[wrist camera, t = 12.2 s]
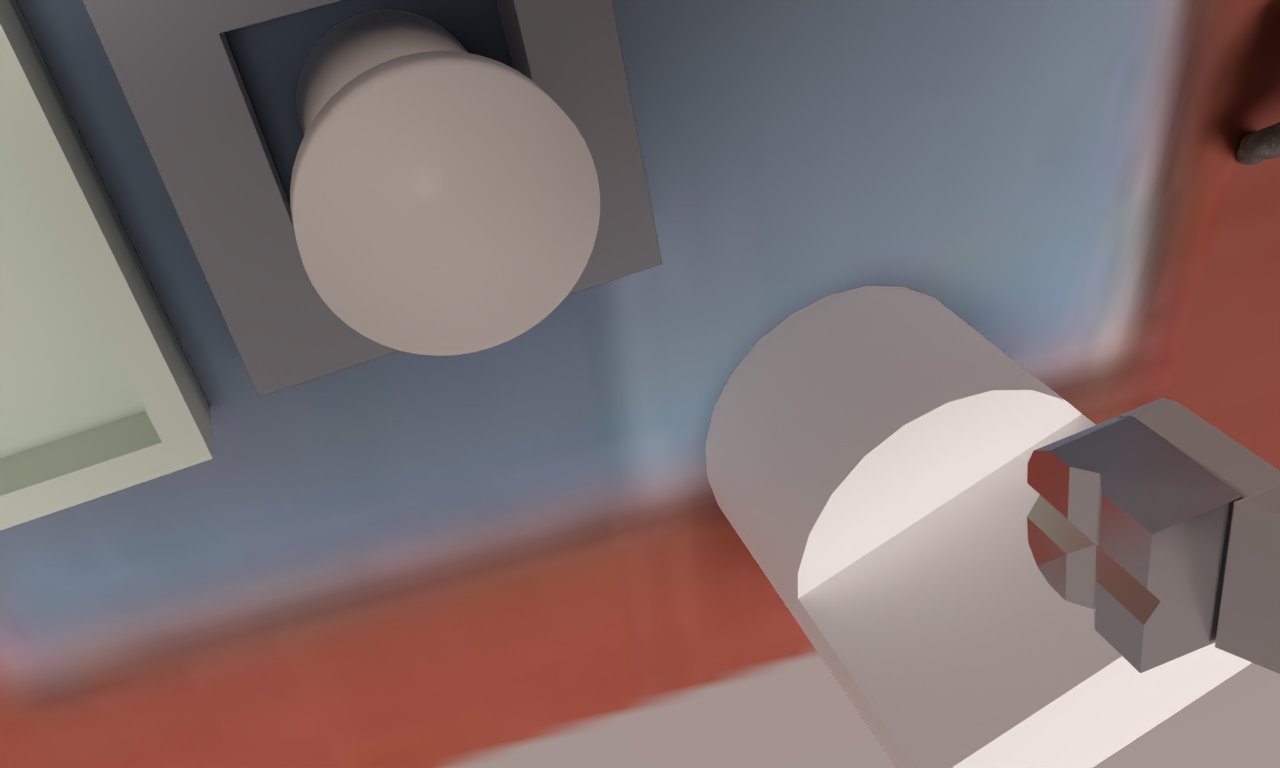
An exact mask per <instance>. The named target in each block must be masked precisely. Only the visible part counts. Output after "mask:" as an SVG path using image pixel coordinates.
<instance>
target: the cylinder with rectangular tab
mask: <svg viewBox="0 0 1280 768" xmlns="http://www.w3.org/2000/svg"><path fill="white" fill-rule="evenodd" d="M1093 426H1095V424H1094V423H1093V422H1092V421H1090V420H1089V419H1088V418H1086V417H1085V416H1084V415H1083V414H1081V413H1080V412H1079V411H1078V410H1076V409H1075V408H1074V407H1073V406H1072V405H1070V404H1069V403H1068V402H1067V401H1065V400H1064V399H1063V398H1062V397H1060V396H1059V395H1058V394H1057V393H1055V392H1054V391H1053V390H1051V389H1050V388H1049V387H1048V386H1046V385H1045V384H1044V383H1042V382H1041V381H1040V380H1039V379H1037V378H1036V377H1035V376H1034V375H1032V374H1031V373H1030V372H1028V371H1027V370H1026V369H1025V368H1023V367H1022V366H1021V365H1020V364H1018V363H1017V362H1016V361H1014V360H1013V359H1012V358H1011V357H1009V356H1008V355H1007V354H1005V353H1004V352H1003V351H1002V350H1000V349H999V348H998V347H997V346H995V345H994V344H993V343H991V342H990V341H989V340H988V339H986V338H985V337H984V336H983V335H981V334H980V333H979V332H977V331H976V330H975V329H974V328H972V327H971V326H970V325H968V324H967V323H966V322H965V321H963V320H962V319H961V318H960V317H958V316H957V315H956V314H954V313H953V312H952V311H951V310H949V309H948V308H947V307H945V306H944V305H943V304H942V303H940V302H939V301H938V300H937V299H935V298H934V297H931V296H929V295H926V294H923V293H920V292H917V291H914V290H911V289H908V288H905V287H895V286H865V287H860V288H856V289H852V290H848V291H844V292H840V293H835V294H831V295H828V296H826V297H824V298H822V299H820V300H818V301H816V302H814V303H812V304H810V305H808V306H806V307H804V308H802V309H800V310H798V311H796V312H794V313H792V314H791V315H790V316H789V317H787V318H786V319H785V320H784V321H782V322H781V323H780V324H779V325H777V326H776V327H775V328H774V329H772V330H771V331H770V332H769V333H767V334H766V335H765V336H764V337H762V338H761V339H760V340H759V341H758V342H757V343H756V344H755V345H754V347H753V348H752V349H751V350H750V352H749V353H748V354H747V355H746V356H745V358H744V359H743V360H742V361H741V363H740V364H739V365H738V366H737V367H736V369H735V370H734V371H733V372H732V374H731V376H730V378H729V380H728V381H727V383H726V385H725V387H724V389H723V391H722V393H721V395H720V397H719V399H718V401H717V403H716V405H715V407H714V409H713V414H712V418H711V422H710V427H709V431H708V435H707V440H706V444H705V447H706V465H707V478H708V481H709V483H710V486H711V488H712V491H713V493H714V496H715V498H716V501H717V503H718V506H719V507H720V509H721V510H722V512H723V513H724V515H725V516H726V518H727V519H728V521H729V522H730V524H731V525H732V526H733V528H734V529H735V531H736V532H737V534H738V535H739V537H740V538H741V540H742V541H743V543H744V544H745V546H746V547H747V549H748V550H749V552H750V553H751V555H752V556H753V557H754V559H755V560H756V562H757V563H758V565H759V566H760V568H761V569H762V571H763V572H764V574H765V575H766V577H767V578H768V580H769V581H770V583H771V584H772V585H773V587H774V588H775V590H776V591H777V593H778V594H779V596H780V597H781V599H782V600H783V602H784V603H785V605H786V606H787V608H788V609H789V611H790V612H791V614H792V615H793V616H794V618H795V619H796V621H797V622H798V624H799V625H800V627H801V628H802V630H803V631H804V633H805V634H806V636H807V637H808V639H809V640H810V642H811V643H812V644H813V646H814V647H815V649H816V650H817V652H818V653H819V655H820V656H821V658H822V659H823V661H824V662H825V664H826V665H827V666H828V668H829V670H830V671H831V672H832V674H833V675H834V677H835V678H836V680H837V681H838V683H839V684H840V686H841V687H842V689H843V690H844V692H845V693H846V695H847V696H848V697H849V699H850V701H851V702H852V703H853V705H854V706H855V708H856V709H857V711H858V712H859V714H860V715H861V717H862V718H863V720H864V721H865V722H866V724H867V725H868V727H869V729H870V730H871V731H872V733H873V734H874V736H875V737H876V739H877V740H878V742H879V743H880V745H881V746H882V747H883V749H884V751H885V752H886V754H887V755H888V757H889V758H890V759H891V761H892V763H893V764H894V765H895V767H896V768H1092V767H1094V766H1096V765H1097V764H1098V763H1100V762H1102V761H1103V760H1105V759H1106V758H1108V757H1109V756H1111V755H1112V754H1114V753H1115V752H1117V751H1118V750H1120V749H1121V748H1123V747H1124V746H1126V745H1128V744H1129V743H1131V742H1132V741H1134V740H1135V739H1137V738H1138V737H1140V736H1141V735H1143V734H1144V733H1146V732H1147V731H1149V730H1150V729H1152V728H1153V727H1155V726H1156V725H1158V724H1159V723H1161V722H1162V721H1164V720H1166V719H1167V718H1169V717H1170V716H1172V715H1173V714H1175V713H1176V712H1178V711H1179V710H1181V709H1182V708H1184V707H1185V706H1187V705H1188V704H1190V703H1191V702H1193V701H1194V700H1196V699H1197V698H1199V697H1201V696H1202V695H1204V694H1205V693H1206V692H1208V691H1210V690H1211V689H1212V688H1214V687H1216V686H1217V685H1219V684H1220V683H1222V682H1223V681H1225V680H1226V679H1228V678H1229V677H1231V676H1232V675H1234V674H1235V673H1237V672H1238V671H1240V670H1242V669H1243V668H1244V667H1246V666H1248V665H1249V664H1251V663H1252V662H1250V661H1247V660H1245V659H1242V658H1240V657H1238V656H1235V655H1233V654H1230V653H1228V652H1225V651H1223V650H1220V649H1218V648H1216V647H1215V643H1213V644H1210V645H1208V646H1205V647H1203V648H1201V649H1198V650H1196V651H1193V652H1191V653H1189V654H1186V655H1184V656H1181V657H1179V658H1176V659H1174V660H1172V661H1169V662H1167V663H1164V664H1162V665H1160V666H1157V667H1155V668H1152V669H1150V670H1147V671H1145V672H1143V673H1139V672H1138V671H1137V670H1136V669H1135V668H1134V667H1133V666H1132V665H1131V664H1130V663H1129V662H1128V661H1127V660H1126V659H1125V658H1124V657H1123V656H1122V655H1121V654H1120V653H1119V652H1118V651H1117V650H1116V649H1115V648H1113V647H1112V646H1111V645H1110V644H1109V643H1108V642H1107V641H1106V640H1105V639H1104V638H1103V637H1102V636H1101V635H1100V634H1099V633H1098V632H1097V631H1096V630H1095V626H1094V612H1093V609H1091V608H1087V607H1084V606H1081V605H1078V604H1075V603H1071V602H1068V601H1065V600H1064V599H1063V598H1062V597H1061V596H1060V595H1059V594H1058V593H1057V592H1056V591H1055V590H1054V589H1053V588H1052V587H1051V586H1050V585H1049V583H1048V582H1047V580H1046V579H1045V577H1044V576H1043V574H1042V573H1041V571H1040V570H1039V568H1038V567H1037V564H1036V562H1035V559H1034V556H1033V554H1032V551H1031V549H1030V546H1029V543H1028V529H1027V516H1028V514H1029V512H1030V511H1031V509H1032V507H1033V506H1034V504H1035V502H1036V501H1037V499H1038V497H1039V495H1040V494H1039V493H1038V492H1037V491H1036V490H1034V489H1033V488H1032V487H1031V486H1030V485H1029V484H1028V483H1027V469H1028V461H1029V459H1030V457H1031V455H1032V453H1033V451H1034V450H1036V449H1039V448H1041V447H1044V446H1046V445H1049V444H1051V443H1053V442H1056V441H1058V440H1061V439H1063V438H1066V437H1068V436H1071V435H1073V434H1076V433H1078V432H1080V431H1083V430H1085V429H1088V428H1090V427H1093Z"/></svg>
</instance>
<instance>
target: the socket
mask: <svg viewBox="0 0 1280 768" xmlns="http://www.w3.org/2000/svg"><path fill="white" fill-rule="evenodd" d="M337 1H341V0H83V2H84V5H85V7H86V9H87V11H88V14H89V16H90V18H91V20H92V23H93V25H94V27H95V29H96V32H97V34H98V36H99V38H100V41H101V43H102V45H103V47H104V50H105V52H106V54H107V56H108V59H109V61H110V63H111V65H112V68H113V70H114V72H115V74H116V77H117V79H118V81H119V83H120V86H121V88H122V90H123V92H124V95H125V97H126V99H127V101H128V104H129V106H130V108H131V110H132V113H133V115H134V117H135V119H136V122H137V124H138V126H139V128H140V131H141V133H142V135H143V138H144V140H145V142H146V144H147V147H148V149H149V151H150V153H151V156H152V158H153V160H154V162H155V165H156V167H157V169H158V171H159V174H160V176H161V178H162V180H163V183H164V185H165V187H166V189H167V192H168V194H169V196H170V198H171V201H172V203H173V205H174V207H175V210H176V212H177V214H178V216H179V219H180V221H181V223H182V225H183V228H184V230H185V232H186V234H187V237H188V239H189V241H190V243H191V246H192V248H193V250H194V252H195V255H196V257H197V259H198V261H199V264H200V266H201V268H202V270H203V273H204V275H205V277H206V279H207V282H208V284H209V286H210V288H211V291H212V293H213V295H214V298H215V300H216V302H217V304H218V307H219V309H220V311H221V313H222V316H223V318H224V320H225V322H226V325H227V327H228V329H229V331H230V334H231V336H232V338H233V340H234V343H235V345H236V347H237V349H238V352H239V354H240V356H241V358H242V361H243V363H244V365H245V367H246V370H247V372H248V374H249V376H250V379H251V381H252V383H253V385H254V388H255V390H256V392H257V394H258V397H261V396H264V395H267V394H270V393H273V392H276V391H279V390H282V389H285V388H288V387H291V386H294V385H297V384H300V383H303V382H306V381H309V380H312V379H315V378H318V377H321V376H324V375H327V374H330V373H333V372H336V371H339V370H342V369H345V368H348V367H351V366H354V365H357V364H361V363H364V362H367V361H370V360H373V359H376V358H379V357H382V356H385V355H388V354H391V353H394V352H397V351H399V350H396V349H393V348H390V347H387V346H384V345H381V344H379V343H377V342H375V341H373V340H371V339H369V338H367V337H365V336H363V335H362V334H360V333H359V332H357V331H356V330H354V329H352V328H351V327H349V326H348V325H347V324H346V323H345V322H344V321H342V320H341V319H340V318H339V317H338V316H337V315H335V314H334V312H333V311H332V310H331V309H330V308H329V307H328V306H327V305H326V303H325V302H324V301H323V300H322V298H321V297H320V295H319V294H318V292H317V291H316V289H315V288H314V286H313V285H312V283H311V281H310V279H309V277H308V275H307V272H306V270H305V268H304V266H303V262H302V259H301V256H300V252H299V249H298V245H297V241H296V236H295V232H294V227H293V222H292V215H291V209H290V204H289V201H288V199H287V196H286V194H285V191H284V188H283V186H282V183H281V180H280V178H279V175H278V173H277V170H276V167H275V165H274V162H273V159H272V157H271V154H270V152H269V149H268V146H267V144H266V141H265V139H264V136H263V133H262V131H261V128H260V125H259V123H258V120H257V118H256V115H255V112H254V110H253V107H252V104H251V102H250V99H249V97H248V94H247V91H246V89H245V86H244V84H243V81H242V78H241V76H240V73H239V70H238V68H237V65H236V63H235V60H234V57H233V55H232V52H231V49H230V47H229V44H228V42H227V39H226V36H225V34H224V32H227V31H230V30H234V29H238V28H241V27H245V26H249V25H252V24H256V23H260V22H263V21H267V20H271V19H275V18H278V17H282V16H286V15H289V14H293V13H297V12H300V11H304V10H308V9H312V8H315V7H319V6H323V5H326V4H330V3H334V2H337ZM496 2H497V6H498V10H499V14H500V18H501V22H502V26H503V30H504V35H505V39H506V43H507V47H508V51H509V55H510V59H511V63H512V67H513V69H515V70H517V71H519V72H520V73H522V74H523V75H525V76H526V77H528V78H529V79H531V80H532V81H533V82H535V83H536V84H537V85H538V86H539V87H540V88H541V89H542V90H543V91H545V92H546V93H547V94H548V95H549V96H550V97H551V98H552V100H553V101H554V102H555V103H556V104H557V105H558V106H559V107H560V108H561V109H562V110H563V111H564V112H565V114H566V115H567V116H568V117H569V118H570V120H571V121H572V122H573V123H574V124H575V126H576V127H577V129H578V131H579V132H580V134H581V135H582V137H583V139H584V140H585V142H586V144H587V147H588V149H589V151H590V154H591V156H592V158H593V162H594V165H595V169H596V172H597V176H598V183H599V190H600V218H599V226H598V232H597V236H596V239H595V243H594V247H593V250H592V252H591V255H590V257H589V260H588V262H587V265H586V267H585V268H584V270H583V272H582V274H581V276H580V278H579V279H578V281H577V282H576V284H575V285H574V287H573V288H572V290H571V291H570V292H569V294H572V293H575V292H578V291H581V290H584V289H587V288H590V287H594V286H597V285H600V284H603V283H606V282H609V281H612V280H615V279H618V278H621V277H624V276H627V275H630V274H633V273H636V272H639V271H642V270H645V269H648V268H651V267H654V266H657V265H660V264H662V262H661V256H660V251H659V246H658V240H657V235H656V230H655V225H654V219H653V214H652V209H651V204H650V198H649V193H648V188H647V182H646V177H645V172H644V167H643V161H642V156H641V151H640V145H639V140H638V135H637V130H636V124H635V119H634V114H633V109H632V103H631V98H630V93H629V87H628V82H627V77H626V72H625V66H624V61H623V56H622V50H621V45H620V40H619V35H618V29H617V24H616V19H615V14H614V8H613V3H612V0H496ZM569 294H568V295H569Z"/></svg>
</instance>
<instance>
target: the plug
mask: <svg viewBox="0 0 1280 768" xmlns="http://www.w3.org/2000/svg"><path fill="white" fill-rule="evenodd" d="M296 105H297V112H298V118H299V122H300V125H301V129H302V132H303V135H304V138H303V140H302V142H301V144H300V147H299V149H298V152H297V155H296V159H295V162H294V166H293V170H292V177H291V185H290V209H291V215H292V222H293V227H294V232H295V236H296V241H297V245H298V249H299V252H300V256H301V259H302V262H303V266H304V268H305V270H306V272H307V275H308V277H309V279H310V281H311V283H312V285H313V286H314V288H315V289H316V291H317V292H318V294H319V295H320V297H321V298H322V300H323V301H324V302H325V303H326V305H327V306H328V307H329V308H330V309H331V310H332V311H333V312H334V314H335V315H337V316H338V317H339V318H340V319H341V320H342V321H344V322H345V323H346V324H347V325H348V326H349V327H351V328H352V329H354V330H356V331H357V332H359V333H360V334H362V335H363V336H365V337H367V338H369V339H371V340H373V341H375V342H377V343H379V344H381V345H384V346H387V347H390V348H393V349H396V350H399V351H404V352H409V353H413V354H419V355H432V356H448V355H460V354H467V353H473V352H477V351H481V350H484V349H488V348H492V347H494V346H497V345H499V344H502V343H504V342H507V341H509V340H511V339H513V338H515V337H517V336H519V335H521V334H522V333H524V332H526V331H528V330H529V329H530V328H532V327H533V326H535V325H536V324H538V323H539V322H541V321H542V320H543V319H544V318H545V317H546V316H548V315H549V314H550V313H551V312H552V311H553V310H554V309H555V308H556V307H557V306H558V305H559V304H560V303H561V302H562V301H563V300H564V298H565V297H566V296H567V295H568V294H569V292H570V291H571V290H572V288H573V287H574V285H575V284H576V282H577V281H578V279H579V278H580V276H581V274H582V272H583V270H584V268H585V267H586V265H587V262H588V260H589V257H590V255H591V252H592V250H593V247H594V243H595V239H596V236H597V232H598V226H599V218H600V190H599V183H598V176H597V172H596V169H595V165H594V162H593V158H592V156H591V154H590V151H589V149H588V147H587V144H586V142H585V140H584V139H583V137H582V135H581V134H580V132H579V131H578V129H577V127H576V126H575V124H574V123H573V122H572V121H571V120H570V118H569V117H568V116H567V115H566V114H565V112H564V111H563V110H562V109H561V108H560V107H559V106H558V105H557V104H556V103H555V102H554V101H553V100H552V98H551V97H550V96H549V95H548V94H547V93H546V92H545V91H543V90H542V89H541V88H540V87H539V86H538V85H537V84H536V83H535V82H533V81H532V80H531V79H529V78H528V77H526V76H525V75H523V74H522V73H520V72H519V71H517V70H515V69H513V68H511V67H509V66H507V65H505V64H503V63H501V62H499V61H496V60H493V59H490V58H487V57H484V56H481V55H476V54H471V53H468V52H467V50H466V49H465V48H464V47H463V46H462V45H461V43H460V42H459V41H458V40H457V39H456V38H455V37H454V36H453V35H452V34H451V33H450V32H449V31H448V30H447V29H445V28H444V27H442V26H441V25H439V24H438V23H436V22H435V21H433V20H431V19H429V18H427V17H425V16H422V15H419V14H416V13H413V12H408V11H403V10H395V9H381V10H372V11H367V12H363V13H360V14H357V15H354V16H351V17H349V18H347V19H345V20H343V21H341V22H340V23H338V24H337V25H335V26H334V27H332V28H331V29H330V30H328V31H327V32H326V33H325V34H324V35H323V36H322V37H321V38H320V39H319V40H318V41H317V43H316V44H315V45H314V46H313V48H312V49H311V51H310V53H309V54H308V56H307V57H306V60H305V62H304V64H303V66H302V69H301V72H300V76H299V79H298V85H297V92H296Z"/></svg>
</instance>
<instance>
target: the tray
mask: <svg viewBox="0 0 1280 768" xmlns="http://www.w3.org/2000/svg"><path fill="white" fill-rule="evenodd" d="M211 459H213V451H212V432H211V413H210V407H209V405H208V403H207V401H206V399H205V397H204V395H203V393H202V391H201V388H200V386H199V384H198V382H197V380H196V378H195V376H194V374H193V372H192V370H191V367H190V365H189V363H188V361H187V359H186V357H185V355H184V353H183V351H182V349H181V346H180V344H179V342H178V340H177V338H176V336H175V334H174V332H173V330H172V328H171V325H170V323H169V321H168V319H167V317H166V315H165V313H164V311H163V309H162V307H161V304H160V302H159V300H158V298H157V296H156V294H155V292H154V290H153V288H152V286H151V283H150V281H149V279H148V277H147V275H146V273H145V271H144V269H143V267H142V264H141V262H140V260H139V258H138V256H137V254H136V252H135V250H134V248H133V246H132V243H131V241H130V239H129V237H128V235H127V233H126V231H125V229H124V227H123V225H122V222H121V220H120V218H119V216H118V214H117V212H116V210H115V208H114V206H113V204H112V201H111V199H110V197H109V195H108V193H107V191H106V189H105V187H104V185H103V183H102V180H101V178H100V176H99V174H98V172H97V170H96V168H95V166H94V164H93V162H92V159H91V157H90V155H89V153H88V151H87V149H86V147H85V145H84V143H83V140H82V138H81V136H80V134H79V132H78V130H77V128H76V126H75V124H74V122H73V119H72V117H71V115H70V113H69V111H68V109H67V107H66V105H65V103H64V101H63V98H62V96H61V94H60V92H59V90H58V88H57V86H56V84H55V82H54V80H53V77H52V75H51V73H50V71H49V69H48V67H47V65H46V63H45V61H44V59H43V56H42V54H41V52H40V50H39V48H38V46H37V44H36V42H35V40H34V38H33V35H32V33H31V31H30V29H29V27H28V25H27V23H26V21H25V19H24V16H23V14H22V12H21V10H20V8H19V6H18V4H17V2H16V0H0V531H1V530H4V529H6V528H9V527H12V526H15V525H18V524H21V523H24V522H27V521H30V520H33V519H36V518H39V517H42V516H45V515H48V514H51V513H54V512H57V511H60V510H63V509H66V508H69V507H72V506H75V505H78V504H80V503H83V502H86V501H89V500H92V499H95V498H98V497H101V496H104V495H107V494H110V493H113V492H116V491H119V490H122V489H125V488H128V487H131V486H134V485H137V484H140V483H143V482H146V481H149V480H152V479H154V478H157V477H160V476H163V475H166V474H169V473H172V472H175V471H178V470H181V469H184V468H187V467H190V466H193V465H196V464H199V463H202V462H205V461H208V460H211Z"/></svg>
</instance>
